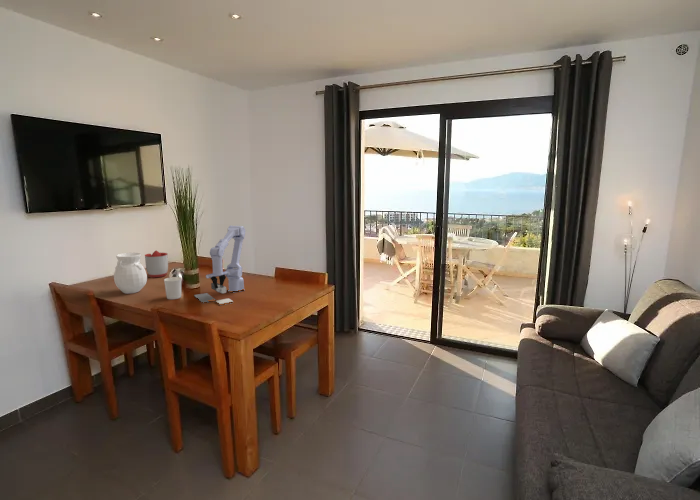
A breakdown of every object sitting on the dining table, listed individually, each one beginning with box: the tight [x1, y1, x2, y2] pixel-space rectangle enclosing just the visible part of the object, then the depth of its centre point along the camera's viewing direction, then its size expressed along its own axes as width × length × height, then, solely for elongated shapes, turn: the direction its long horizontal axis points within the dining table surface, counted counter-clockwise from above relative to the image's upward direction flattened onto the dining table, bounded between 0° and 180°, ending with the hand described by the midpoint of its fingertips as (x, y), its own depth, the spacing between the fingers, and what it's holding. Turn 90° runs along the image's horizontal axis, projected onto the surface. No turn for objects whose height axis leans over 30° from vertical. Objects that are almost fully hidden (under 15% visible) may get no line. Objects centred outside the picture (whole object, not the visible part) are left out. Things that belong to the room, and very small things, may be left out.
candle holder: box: [163, 276, 182, 300], centre depth 228 cm, size 10×10×12 cm
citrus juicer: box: [144, 250, 169, 279], centre depth 278 cm, size 16×17×20 cm
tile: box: [215, 298, 234, 305], centre depth 221 cm, size 8×2×7 cm
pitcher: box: [113, 252, 148, 295], centre depth 237 cm, size 19×18×25 cm
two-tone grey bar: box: [210, 282, 227, 294], centre depth 227 cm, size 3×14×4 cm, turn 46°
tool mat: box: [193, 292, 216, 304], centre depth 228 cm, size 8×18×1 cm, turn 39°
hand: (218, 287), depth 227 cm, fingers closed on two-tone grey bar, 3 cm apart
